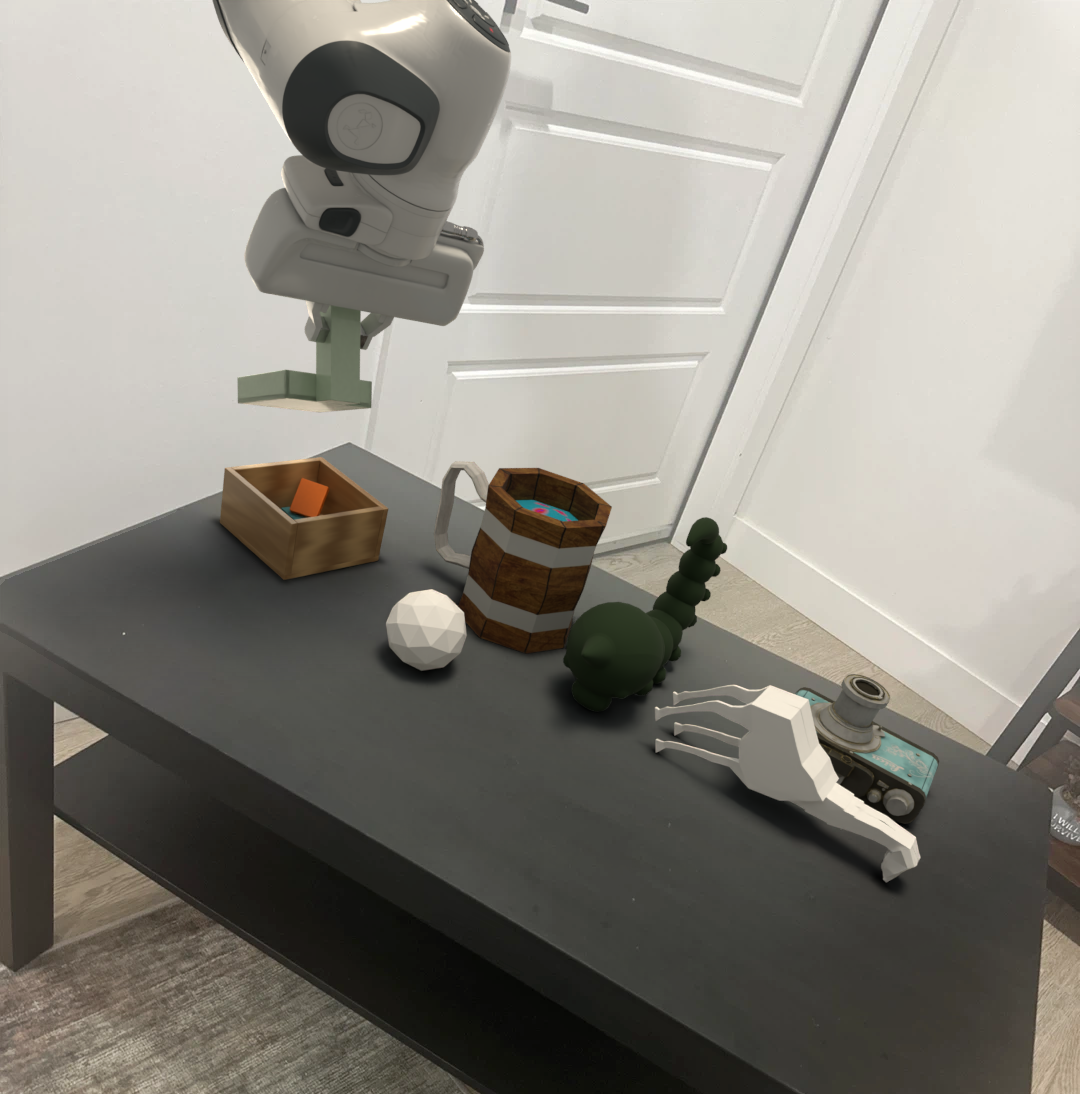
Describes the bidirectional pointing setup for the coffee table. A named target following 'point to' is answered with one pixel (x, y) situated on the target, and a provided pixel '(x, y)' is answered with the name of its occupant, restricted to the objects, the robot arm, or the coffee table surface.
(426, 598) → the geometric ball
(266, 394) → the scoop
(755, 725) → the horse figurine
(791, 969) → the coffee table surface
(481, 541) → the mug
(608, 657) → the toy caterpillar
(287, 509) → the block
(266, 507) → the holder
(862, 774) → the camera
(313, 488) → the sachet orange
